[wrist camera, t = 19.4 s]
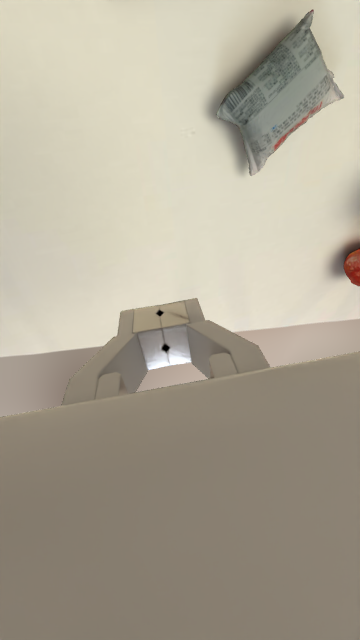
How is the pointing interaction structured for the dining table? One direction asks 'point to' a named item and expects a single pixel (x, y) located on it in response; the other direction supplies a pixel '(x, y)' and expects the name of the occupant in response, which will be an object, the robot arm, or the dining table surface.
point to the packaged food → (280, 94)
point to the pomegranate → (353, 267)
